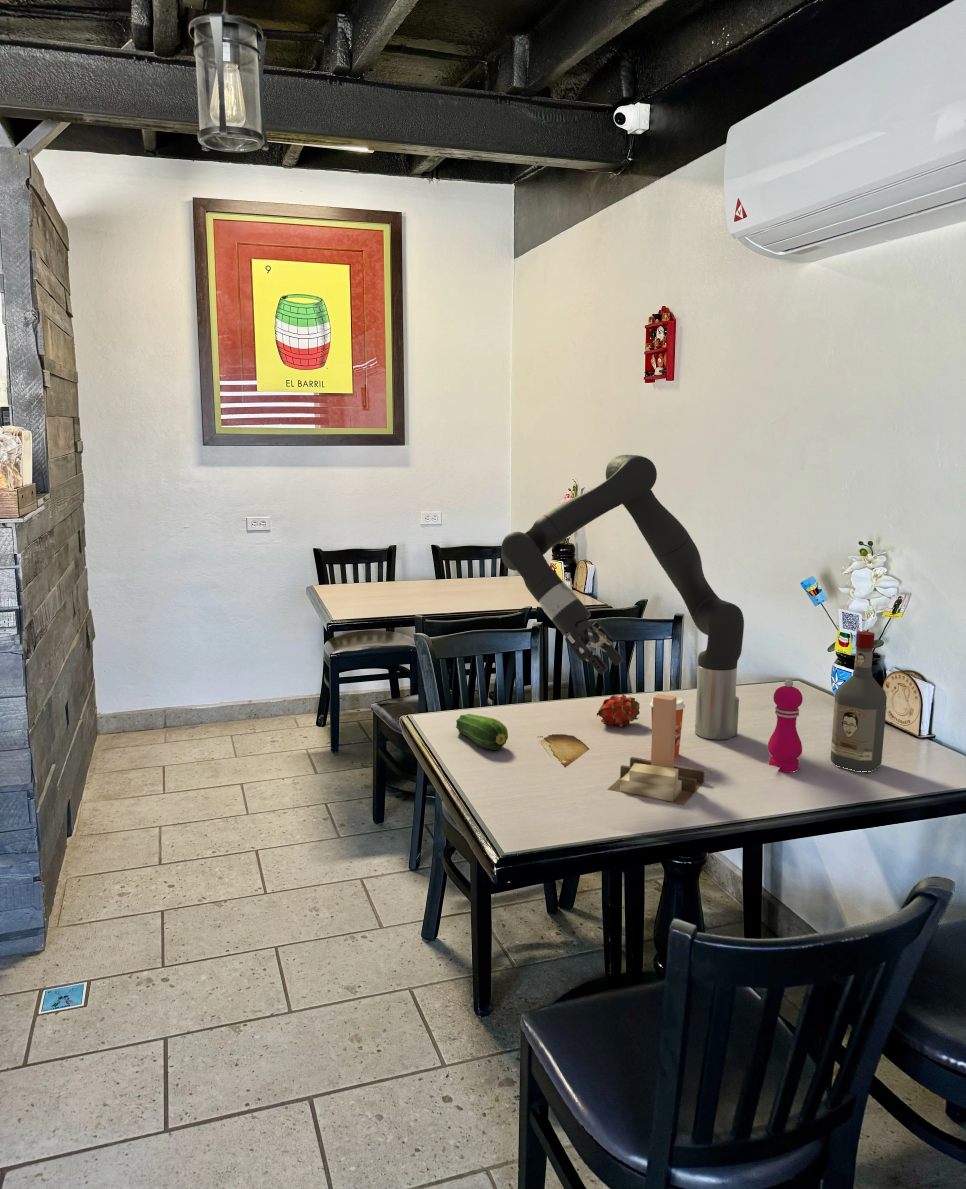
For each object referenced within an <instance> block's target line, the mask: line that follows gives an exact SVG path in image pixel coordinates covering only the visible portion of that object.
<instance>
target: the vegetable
mask: <svg viewBox="0 0 966 1189" xmlns="http://www.w3.org/2000/svg"><path fill="white" fill-rule="evenodd" d="M455 723H456V726H455V728H456V729H457V730H458V732H459V733H460V734H462V735H463V736H464V735H465V736H464V737H467V738H469V739H470V740H472V741H473V742H474V744H475V743H476V745H478V746H479V747H482V748H484V749H486V750H489V751H497V750H500V749H502V748H503V747H504V745H506V743H507V741H508V739H509V733H508V729H507V726H506V725H504V723H502V722H501V721H500V720H498V719H496V718H493V717H488V716H483V715H477V714H472V713H466V714H461V715H459V718H456V722H455Z"/></svg>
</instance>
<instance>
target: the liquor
mask: <svg viewBox="0 0 966 1189" xmlns="http://www.w3.org/2000/svg"><path fill="white" fill-rule="evenodd" d="M875 634H876V633H874V632H872V631H864V630H862V631H857V632H856V635H855V654H854V655H855V658H854V667H853V668H854V669H853V671H852V675H851V676H850V677H849V678H847V680H845V682H843V683H842V684H841V685H840V686H839V687H837V689H836V691H835V694H834V704H833V718H832V730H831V731H832V734H831V748H830V760H831V762H833V763H834V764H835V765H837V766H840V767H844V768H848V769H852V770H855V771H861V772H862V771H867V772H868V771H872V770H873V771H874V769H875V768H876V769H878V768H879V767H880V766H881V765H882V761H883V760H882V759H883V750H884V736H885V726H886V725H885V724H886V714H887V713H886V712H887V700H888V697H887V694H886V692H885V690H884V689H883V688H882V687H881V685H880V684H879V683H878V681H877V680H876V679H875V678H874V676H873V671H872V666H873V665H872V664H873V650H874V648H875V636H876V635H875ZM833 763H832V764H833ZM834 764H833V765H834ZM835 765H834V766H835ZM878 766H879V767H878ZM877 767H878V768H877ZM876 769H875V770H876ZM873 771H872V772H873Z"/></svg>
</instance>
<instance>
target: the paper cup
mask: <svg viewBox="0 0 966 1189" xmlns="http://www.w3.org/2000/svg"><path fill="white" fill-rule="evenodd" d="M676 697H677V701H676V726H675V752H674V760H676V759H678V758H679V754H680V746H681V735H682V725H683V718H684V717H683V716H684V715H683V714H684V709H685V707H686V706H685V703H684V700H683V698H680V697H679V696H676ZM649 706H650V707H651V718H652V717H653V698H652V699H651V702H650V703H649Z"/></svg>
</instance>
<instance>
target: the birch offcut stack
mask: <svg viewBox="0 0 966 1189" xmlns="http://www.w3.org/2000/svg"><path fill="white" fill-rule="evenodd" d="M681 788H682V781H681V780H678V769H675V768H668V767H660V766H653V765H646V764H638V763H634V765H633V766H632V768H631V769H630V771H629V772H628V773H627V774H626V775H625V776H624V777H622V778H621V779H620V791H624V792H629V793H634V794H639V795H644V796H648V797H653V798H658V799H663V800H668V801H672V802H673V800H674V799H675V798H676V797H677V796H678V795H679V794H680V793H681Z"/></svg>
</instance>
